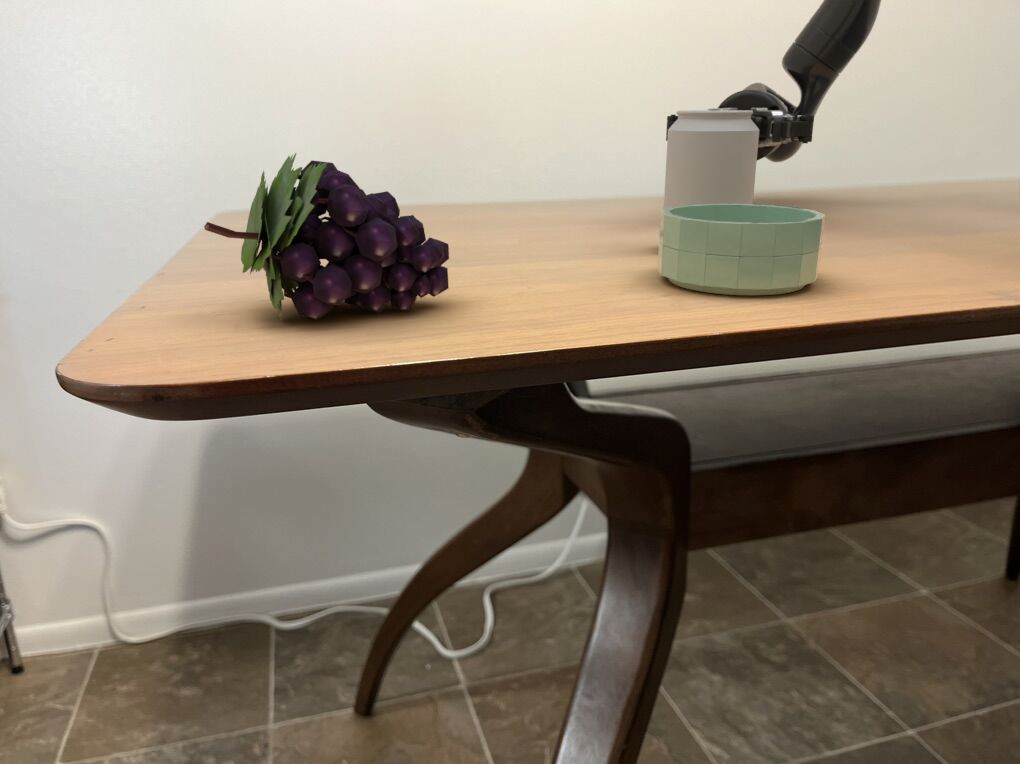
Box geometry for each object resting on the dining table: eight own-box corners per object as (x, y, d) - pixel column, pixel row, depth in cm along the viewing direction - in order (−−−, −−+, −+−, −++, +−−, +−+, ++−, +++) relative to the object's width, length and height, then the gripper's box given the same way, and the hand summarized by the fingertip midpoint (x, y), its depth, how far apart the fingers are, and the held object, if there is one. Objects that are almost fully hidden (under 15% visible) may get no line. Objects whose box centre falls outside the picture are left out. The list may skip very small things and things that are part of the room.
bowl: (791, 266, 65) (797, 203, 63) (837, 298, 54) (847, 223, 53) (650, 266, 65) (653, 203, 64) (669, 297, 55) (673, 223, 53)
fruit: (447, 364, 51) (195, 331, 45) (407, 301, 60) (192, 266, 54) (492, 208, 48) (225, 147, 41) (443, 165, 56) (216, 110, 50)
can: (658, 257, 69) (666, 108, 65) (664, 243, 76) (671, 108, 72) (749, 260, 68) (763, 108, 64) (747, 246, 74) (759, 107, 70)
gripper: (689, 91, 92) (657, 88, 78) (823, 89, 87) (814, 86, 73) (685, 159, 95) (653, 169, 80) (815, 161, 89) (805, 172, 75)
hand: (730, 130), depth 77 cm, fingers open, 8 cm apart
